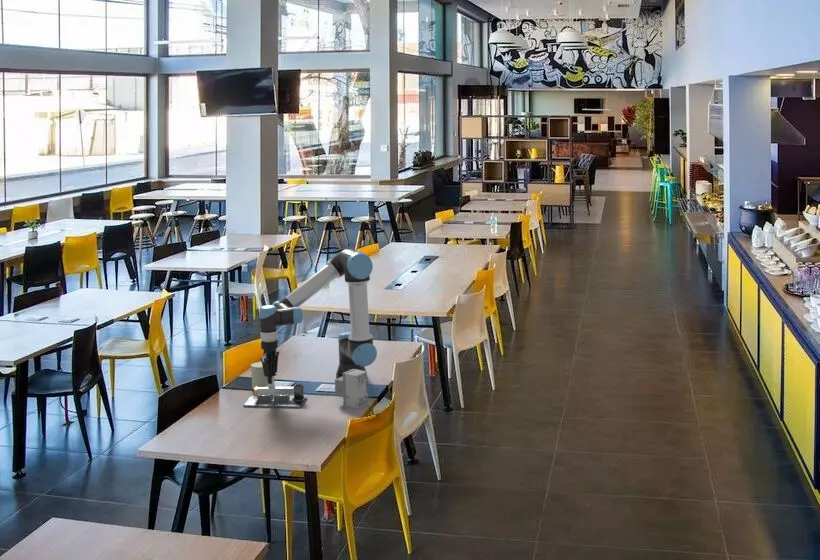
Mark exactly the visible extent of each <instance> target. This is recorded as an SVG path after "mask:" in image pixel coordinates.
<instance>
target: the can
mask: <svg viewBox="0 0 820 560" xmlns="http://www.w3.org/2000/svg"><path fill="white" fill-rule="evenodd" d="M250 369H251V370H250V371H251V390H253V391H254V389H255V387H268V377H266V376H264V371H263V366H262V362H261V361H258V362H256V361H255V362H253V363H251V364H250Z"/></svg>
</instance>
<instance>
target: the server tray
mask: <svg viewBox="0 0 820 560" xmlns="http://www.w3.org/2000/svg"><path fill="white" fill-rule="evenodd" d="M307 399H308V397H307V396H304V398H303V399H294V396H290V395H257V396H254V395H251V396H249V397H248V399H247V400H246V401H245V403H243V406H242V407H245V408H281V409H282V408H283V409H285V408H286V409H289V408H290V409H301V408H302V407H303V405H304V403H305V402H306V400H307Z"/></svg>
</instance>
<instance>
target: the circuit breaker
mask: <svg viewBox="0 0 820 560" xmlns="http://www.w3.org/2000/svg"><path fill="white" fill-rule="evenodd" d="M351 371H352V372H351ZM342 374H343V377H340V378H338V379H336V378H335V379H334V389H335V390H334V391H335V392H334V393H335V396H337V397H340V398H342V399H343V406H345V407H350V408H353V409H354V408H355V409H360V408H362V407H364V406H366V405H369V393H367V382H368V380H369V378H368V371H367V370H366V371H362V370H357V369H351V370H349V371H346V372H344V373H342ZM365 377H366V379H365Z"/></svg>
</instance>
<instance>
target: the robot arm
mask: <svg viewBox="0 0 820 560" xmlns="http://www.w3.org/2000/svg"><path fill="white" fill-rule="evenodd" d="M373 267H374V266H373V262H372V260H371V257H369V255H367V254H366V253H364V252H362V251H358V250H357V249H353V248H347V249H344V250H341V251H339V252H338V253H336V254H335V255H334V256H333V257H331V258H330V259H329V260H327V262H326V265H324V266H323V267H322V268H321V269H319V270H318V271H317V272H316V273H314V274H313V275H312V276H310V278H308V279H307V280H306V281H304V282H303V283H302V284H301V285H299V286H298V287H296V288H295V289H293V291H291V292H290V293H289V294H288V295H286V296H285V297H284V298H282V299H281V300H275V301H274V302H272V304H269V305H267V304H266V305H262V306H261V307H259V314H258V316H259V317H258V318H259V319H258V320H259V330H260V331H259V334H260V348H261V350H262V351H263V353H262V355H263V357H260V362H262V366H263V371H264V376H266V377H268V387H276V384H275V380H276V379H275V377H276V376H278V375H277V373H278V366H279V365H278V364H279V355H280V351H277V349H278V347H279V346H278V345H279V342H278V327H281V326H289V325H290V326H292V325H298V324H301V323H302V322H303V320H304V317H303V316H304V313H303V310H302V308H301V306H302V305H303V304H305V303H306V302H307V301H308V300H310V299H311V298H313V296H315V295H316V294H318V293H319V292H320V291H322V290H323V288H325V287H326V286H328V284H330V283H331V282H333V281H334V280H335V279H337V278H342V276H344V282H346V284H347V285H348V302H349V303H348V304H349V316H350V318H349V320H350V322H349V323H350V331H344V332H341V333H339V334H338V339H337V341H338V362H339V363H338V366H337V370H336V373H335V379H338V378H340V377H343V374H342V373H344V372H346V371H349V370H351V369H357V370H362V371H367V369H366V367H368V366H370V365H372V364H373V363H374V362H375V361H376V359H377V356H378V355H377V354H378V350H377V348H376V346H375V345H374V336H373V334H372V333H370V320H369V319H370V318H369V317H370V316H369V301H368V283H369V282H370V280H371V277H370V276H371V274H372V272H373ZM351 372H352V371H351ZM365 379H366V377H365Z"/></svg>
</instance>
